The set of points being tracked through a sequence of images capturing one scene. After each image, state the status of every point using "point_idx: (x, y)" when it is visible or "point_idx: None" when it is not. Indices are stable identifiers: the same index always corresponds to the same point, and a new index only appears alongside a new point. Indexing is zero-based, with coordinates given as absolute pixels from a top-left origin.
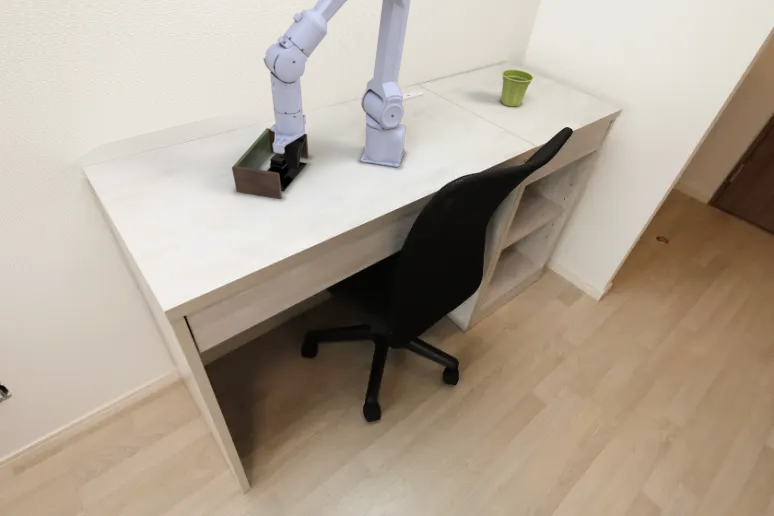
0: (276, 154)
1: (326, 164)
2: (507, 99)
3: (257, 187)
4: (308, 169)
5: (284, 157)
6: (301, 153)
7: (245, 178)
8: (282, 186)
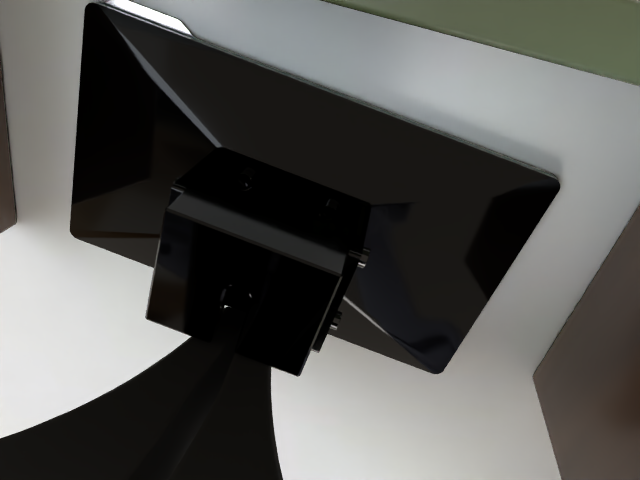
0: (276, 268)
1: (435, 464)
2: None
3: None
4: (371, 372)
5: (159, 363)
6: (562, 368)
7: None
8: (101, 230)
